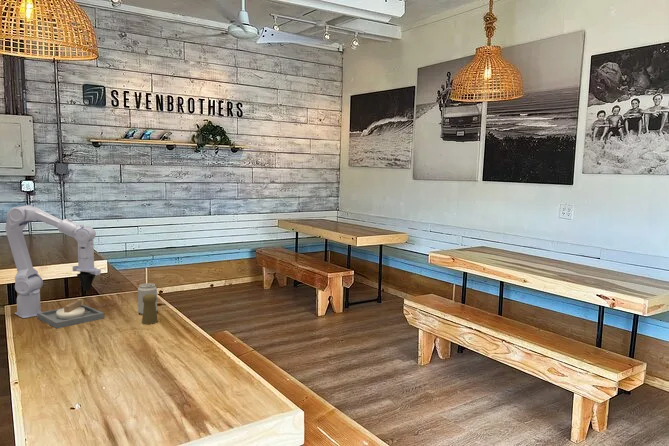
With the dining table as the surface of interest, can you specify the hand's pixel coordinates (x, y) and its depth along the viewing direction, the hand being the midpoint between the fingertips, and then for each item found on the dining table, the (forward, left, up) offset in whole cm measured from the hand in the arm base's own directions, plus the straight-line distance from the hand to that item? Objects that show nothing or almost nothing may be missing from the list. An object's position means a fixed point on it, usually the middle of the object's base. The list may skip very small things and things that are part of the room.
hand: (87, 290), depth 202 cm
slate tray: (-1, -6, -10) cm, 12 cm away
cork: (+25, +13, -11) cm, 30 cm away
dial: (-2, -5, -9) cm, 11 cm away
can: (+13, +19, -11) cm, 25 cm away
